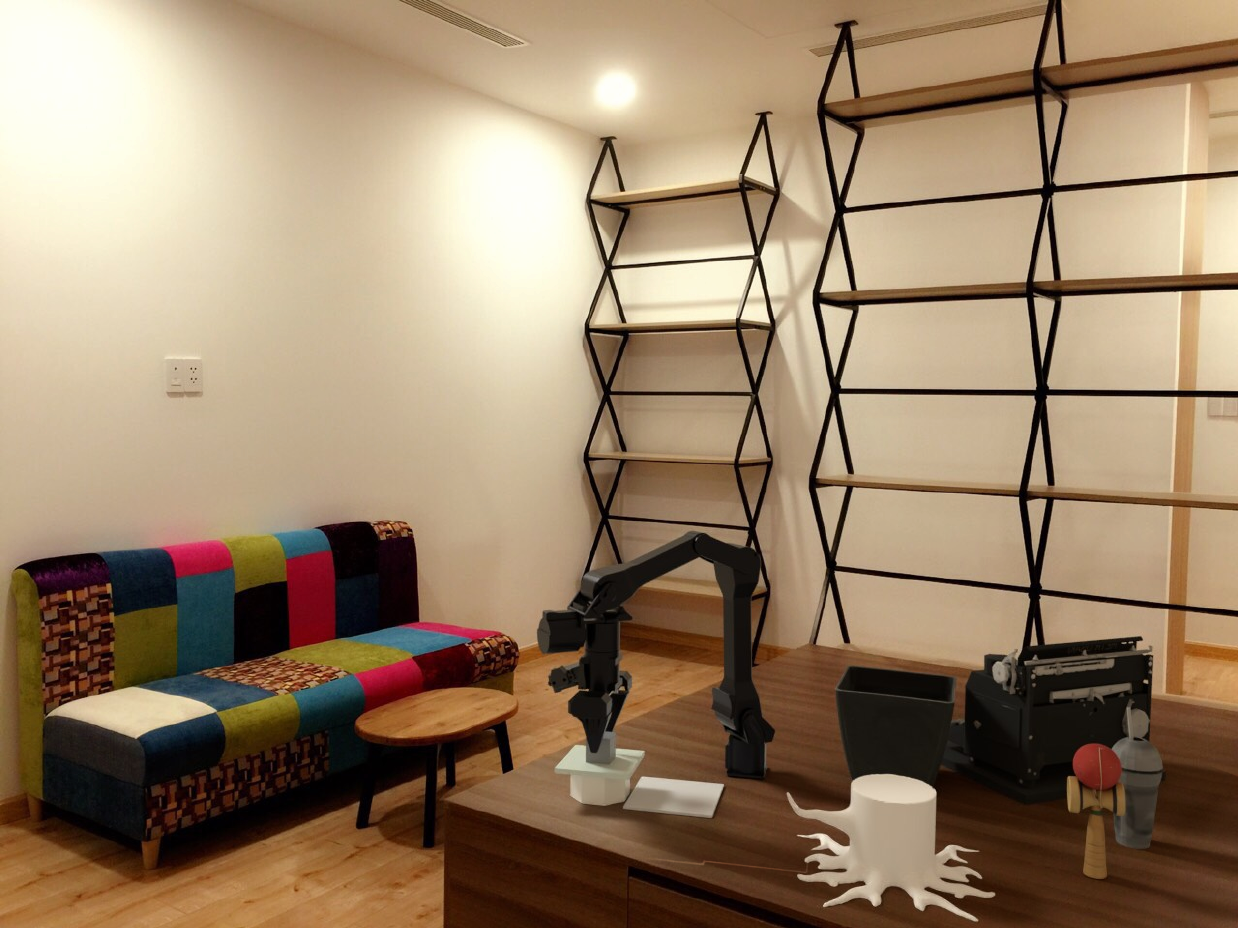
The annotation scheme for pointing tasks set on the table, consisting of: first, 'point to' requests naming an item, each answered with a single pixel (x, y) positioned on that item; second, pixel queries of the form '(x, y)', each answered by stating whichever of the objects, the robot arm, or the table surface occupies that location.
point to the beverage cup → (1137, 789)
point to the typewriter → (1048, 714)
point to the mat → (675, 797)
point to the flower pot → (894, 721)
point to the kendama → (1096, 799)
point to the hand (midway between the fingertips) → (601, 744)
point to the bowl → (598, 790)
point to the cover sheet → (600, 769)
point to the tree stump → (889, 844)
